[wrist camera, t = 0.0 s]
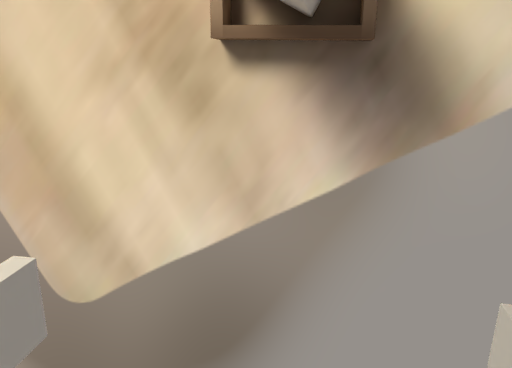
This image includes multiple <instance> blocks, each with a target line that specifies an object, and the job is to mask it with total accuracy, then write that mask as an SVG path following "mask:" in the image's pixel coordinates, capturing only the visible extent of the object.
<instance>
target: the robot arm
mask: <svg viewBox="0 0 512 368" xmlns="http://www.w3.org/2000/svg"><path fill="white" fill-rule="evenodd" d="M47 335H48V334H47V328H46V321H45V315H44V308H43V302H42V295H41V289H40V282H39V276H38V269H37V263H36V258H30V257H19V256H12V257H11V258H9V259H8V260H6V261H4V262H3V263H1V264H0V368H15V367H16V366H17V365H18V364H19V363H20V362H21V361H22V360H23V359H24V358H25V357H26V356H27V355H28V354H29V353H30V352H31V351H32V350H33V349H34V348H35V347H36V346H37V345H38V344H39V343H40V342H41V341H42V340H43V339H44V338H45V337H46V336H47ZM487 368H512V304H500V308H499V313H498V317H497V322H496V327H495V332H494V337H493V341H492V346H491V351H490V355H489V360H488V365H487Z"/></svg>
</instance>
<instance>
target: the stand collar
mask: <svg viewBox="0 0 512 368" xmlns="http://www.w3.org/2000/svg"><path fill="white" fill-rule="evenodd" d="M377 4H378V0H362V2H361V15H360V25H231V0H210V15H211V38H214V39H219V40H359V41H371V40H373V39H374V37H375V26H376V15H377Z"/></svg>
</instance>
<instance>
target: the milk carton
mask: <svg viewBox="0 0 512 368" xmlns="http://www.w3.org/2000/svg"><path fill="white" fill-rule="evenodd" d="M280 1H282V2H283V3H285V4H287V5H289V6H290V7H292V8H294V9H296V10H297V11H299V12H301V13H303V14H304V15H306V16H308V17H313V15H314V13H315V11H316V9H317V7H318V5H319V4H320V2H321V0H280Z"/></svg>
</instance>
